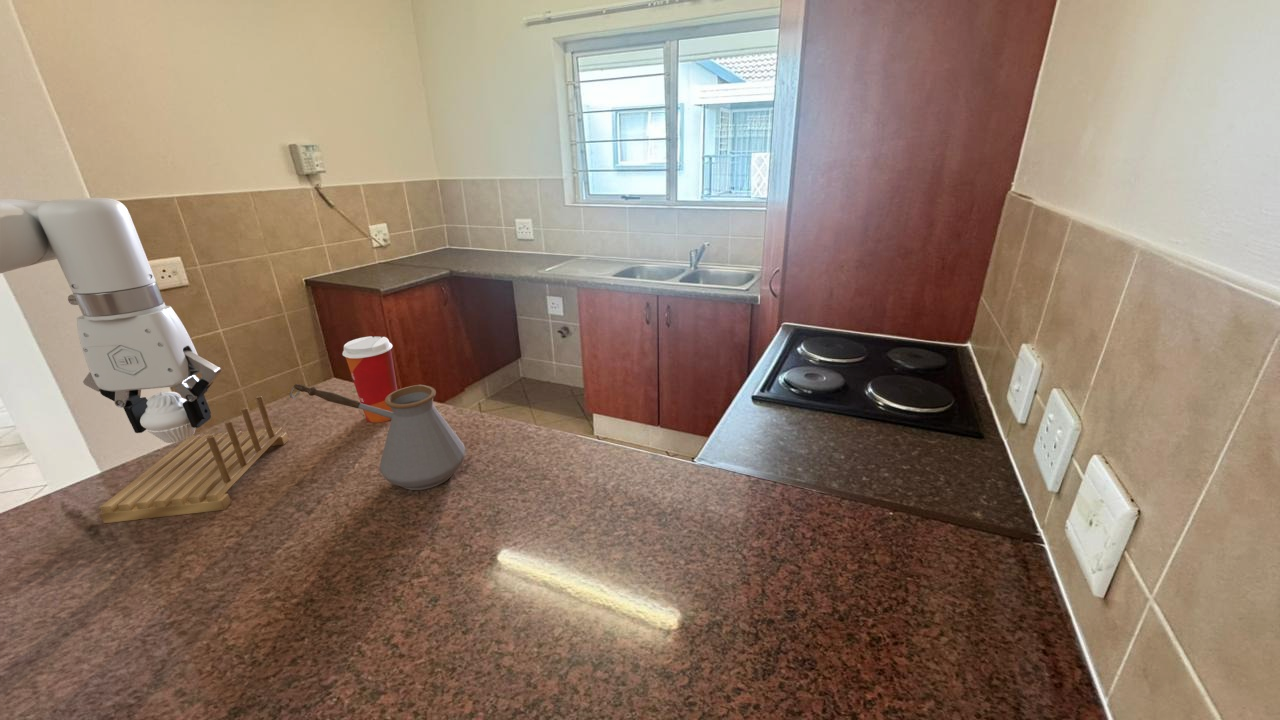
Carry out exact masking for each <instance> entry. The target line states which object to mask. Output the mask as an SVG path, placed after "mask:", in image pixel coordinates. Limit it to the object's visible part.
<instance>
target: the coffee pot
mask: <svg viewBox="0 0 1280 720" xmlns="http://www.w3.org/2000/svg"><path fill="white" fill-rule="evenodd" d="M295 390H297V392H296V394H295V395H294V396H292V395H293V392H294V391H295ZM300 392H302V393H303V392H304V393H306V394H308V396H311V397H312V396H316V397H319V398H320V399H323V400H325V401H327V402H330V403H333V404H338V405H342V406H346V407H349V408H353V409H354V408H355V409H358V410H359V409H360V410H362V411H363V410H366V411H369V412H372V413H375V414H378V415H381V416H384V417H387V418H390V419H391V420H390V423H389V427H388V430H387V434H386V440H385V443H384V447H383V450H382V455H381V458H380V462H379V471H380V473H381V475H382V477H383V478H384V479H385V480H386V481H388V482H389V483H390V484H392V485H394V486H397V487H401V488H404V489H406V490H409V491H420V490H427V489H431V488H435V487H437V486H439V485H441V484H443V483H445V482H447V481H448V480H449V479H451V477H452V476H453V475H454V474H455V473H456V472H457V471H458V469H459V468H460V467H461V465H462V464H463V462H464V460H465V455H466V451H467V450H466V446H465V444H464V442H463V441H462V440H461V439H460V437H459V435H457V433H456V432H455V431H454V429H452V427H451V426H450V425H449V423H448V422H447V420H446V419H445V418H444V416H442V414H441V413H440V412H439V410H438V409H437V408H436V406H435V405H434V398H435V397H436V394H437V391H436V389H435V388H434V387H433V386H430V385H425V384H415V385H409V386H406V387H403V388H399V389H397V390H396V391H394V392H392V393H390V394H389V395H388V396H387V397H386V398H385V403H386V404H387V406H389V407H391V409H392V411H393V412H391V411H387V410H383V409H380V408H376V407H373V406H369V405H365V404H362V403H360V401H357V400H356V399H355V400H354V399H352V398H349V397H346V396H343V395H341V394H338V393H335V392H332V391H326V390H320V389H317V387H315V386H312V387H308V386H306V385H304V384H297V383H294V385H293V388H292V389H291V391H290V393H289V398H291V399H295V398H296V397H297V396H299V394H300Z"/></svg>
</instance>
